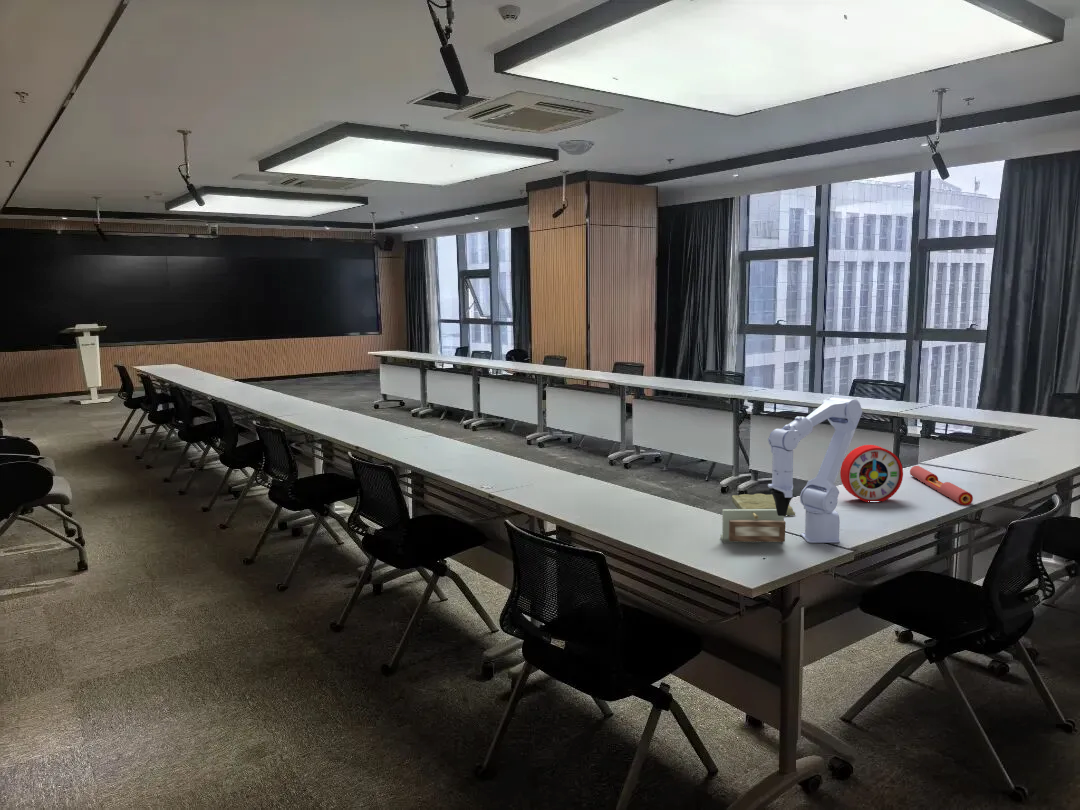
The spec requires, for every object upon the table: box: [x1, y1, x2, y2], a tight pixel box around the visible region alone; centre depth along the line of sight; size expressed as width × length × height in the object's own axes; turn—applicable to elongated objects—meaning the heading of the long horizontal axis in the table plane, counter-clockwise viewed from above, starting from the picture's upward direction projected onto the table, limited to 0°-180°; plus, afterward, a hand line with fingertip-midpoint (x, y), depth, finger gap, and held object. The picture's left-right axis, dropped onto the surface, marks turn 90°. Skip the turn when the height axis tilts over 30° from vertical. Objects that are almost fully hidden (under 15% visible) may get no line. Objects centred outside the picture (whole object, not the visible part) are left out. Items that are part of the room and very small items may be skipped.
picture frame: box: [729, 520, 786, 543], centre depth 217 cm, size 16×2×6 cm, turn 86°
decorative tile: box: [731, 493, 796, 516], centre depth 258 cm, size 19×20×4 cm
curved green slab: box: [720, 508, 785, 543], centre depth 222 cm, size 18×8×10 cm, turn 86°
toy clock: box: [839, 444, 904, 503], centre depth 264 cm, size 20×6×20 cm, turn 91°
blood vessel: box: [909, 465, 974, 506], centre depth 277 cm, size 42×5×5 cm, turn 175°
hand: (781, 515), depth 216 cm, fingers closed
